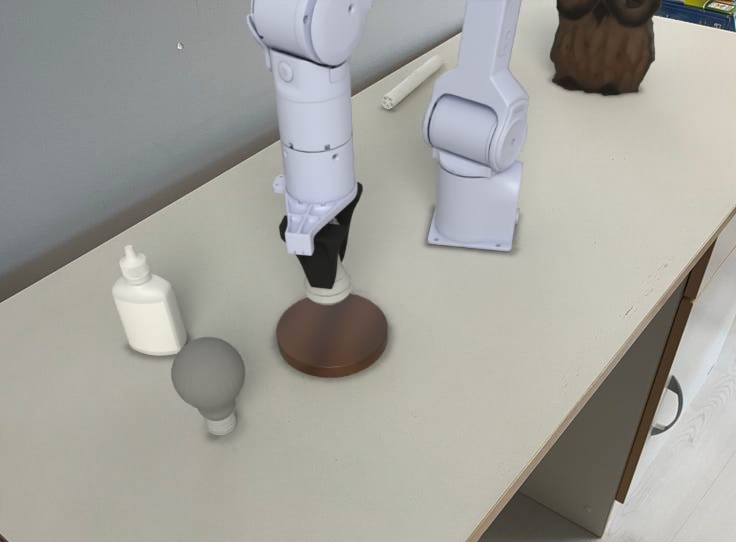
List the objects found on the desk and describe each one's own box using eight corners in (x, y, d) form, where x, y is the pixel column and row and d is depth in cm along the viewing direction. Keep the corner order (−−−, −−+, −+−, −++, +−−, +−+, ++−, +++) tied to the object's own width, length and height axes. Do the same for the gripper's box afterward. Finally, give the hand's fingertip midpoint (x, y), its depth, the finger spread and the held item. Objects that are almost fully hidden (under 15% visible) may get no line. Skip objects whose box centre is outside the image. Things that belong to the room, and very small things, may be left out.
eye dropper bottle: (160, 369, 69) (128, 271, 61) (124, 345, 72) (89, 247, 64) (194, 344, 72) (168, 246, 63) (158, 321, 74) (128, 225, 66)
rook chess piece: (346, 309, 65) (342, 237, 60) (299, 304, 66) (290, 233, 61) (356, 279, 69) (352, 208, 63) (310, 275, 69) (303, 204, 64)
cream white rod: (435, 62, 117) (436, 48, 115) (447, 65, 116) (448, 50, 115) (381, 108, 106) (381, 92, 105) (393, 111, 106) (393, 95, 104)
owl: (649, 94, 106) (688, -56, 92) (570, 106, 104) (598, -45, 90) (608, 61, 115) (639, -81, 101) (535, 71, 113) (555, -72, 99)
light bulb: (191, 405, 66) (167, 324, 59) (256, 399, 66) (240, 318, 59) (186, 456, 62) (160, 377, 55) (255, 450, 62) (238, 370, 55)
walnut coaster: (396, 308, 74) (396, 297, 73) (376, 385, 67) (375, 374, 66) (294, 297, 76) (293, 286, 75) (264, 370, 69) (261, 359, 68)
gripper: (292, 90, 62) (306, 223, 71) (238, 179, 52) (262, 318, 61) (372, 95, 60) (375, 229, 70) (332, 187, 51) (342, 328, 60)
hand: (327, 271), depth 66 cm, fingers closed on rook chess piece, 3 cm apart
